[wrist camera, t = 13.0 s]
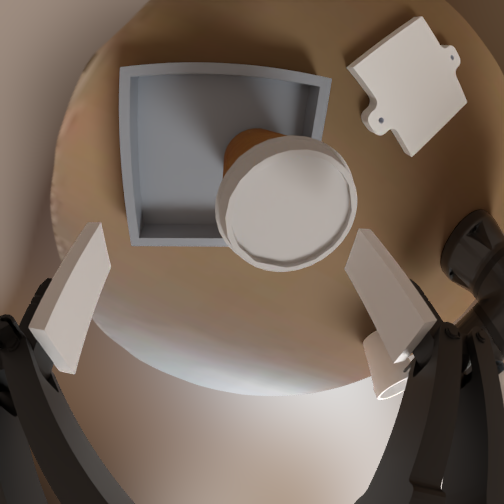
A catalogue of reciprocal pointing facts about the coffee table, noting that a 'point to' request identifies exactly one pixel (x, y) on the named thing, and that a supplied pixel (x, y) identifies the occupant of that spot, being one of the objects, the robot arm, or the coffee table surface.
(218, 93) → the slate tray
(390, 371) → the foam cup
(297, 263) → the disposable coffee cup
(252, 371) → the coffee table surface
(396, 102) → the mounting plate
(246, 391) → the coffee table surface
